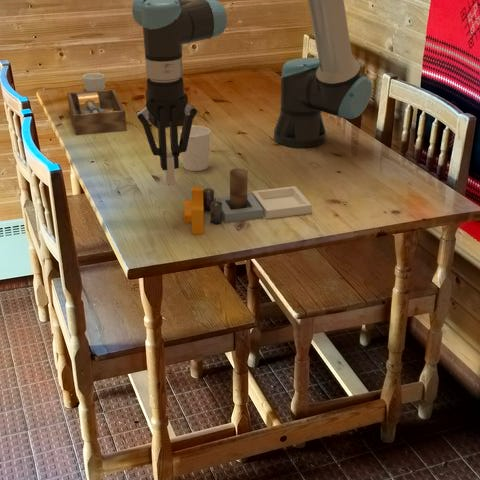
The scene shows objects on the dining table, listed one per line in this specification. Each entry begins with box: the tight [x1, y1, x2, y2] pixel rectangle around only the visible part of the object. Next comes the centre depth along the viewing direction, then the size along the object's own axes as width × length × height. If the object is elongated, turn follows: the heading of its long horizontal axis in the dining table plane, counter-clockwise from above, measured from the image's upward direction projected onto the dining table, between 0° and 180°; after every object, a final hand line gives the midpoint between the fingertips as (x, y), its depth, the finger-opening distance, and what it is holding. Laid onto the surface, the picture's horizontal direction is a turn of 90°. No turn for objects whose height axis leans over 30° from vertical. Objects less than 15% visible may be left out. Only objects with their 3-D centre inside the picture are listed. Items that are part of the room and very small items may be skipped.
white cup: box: [179, 125, 211, 172], centre depth 191 cm, size 8×8×10 cm
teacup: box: [82, 72, 106, 91], centre depth 252 cm, size 10×8×5 cm
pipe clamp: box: [183, 186, 205, 235], centre depth 163 cm, size 12×4×6 cm, turn 3°
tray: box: [251, 185, 313, 220], centre depth 171 cm, size 11×11×3 cm
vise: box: [76, 92, 113, 114], centre depth 224 cm, size 18×10×7 cm, turn 21°
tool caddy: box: [66, 88, 128, 136], centre depth 224 cm, size 15×23×6 cm, turn 17°
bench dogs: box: [203, 188, 223, 225], centre depth 166 cm, size 3×10×5 cm, turn 16°
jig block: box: [214, 193, 264, 224], centre depth 168 cm, size 9×9×2 cm
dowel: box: [229, 167, 249, 210], centre depth 166 cm, size 4×4×10 cm
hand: (170, 182), depth 160 cm, fingers closed
